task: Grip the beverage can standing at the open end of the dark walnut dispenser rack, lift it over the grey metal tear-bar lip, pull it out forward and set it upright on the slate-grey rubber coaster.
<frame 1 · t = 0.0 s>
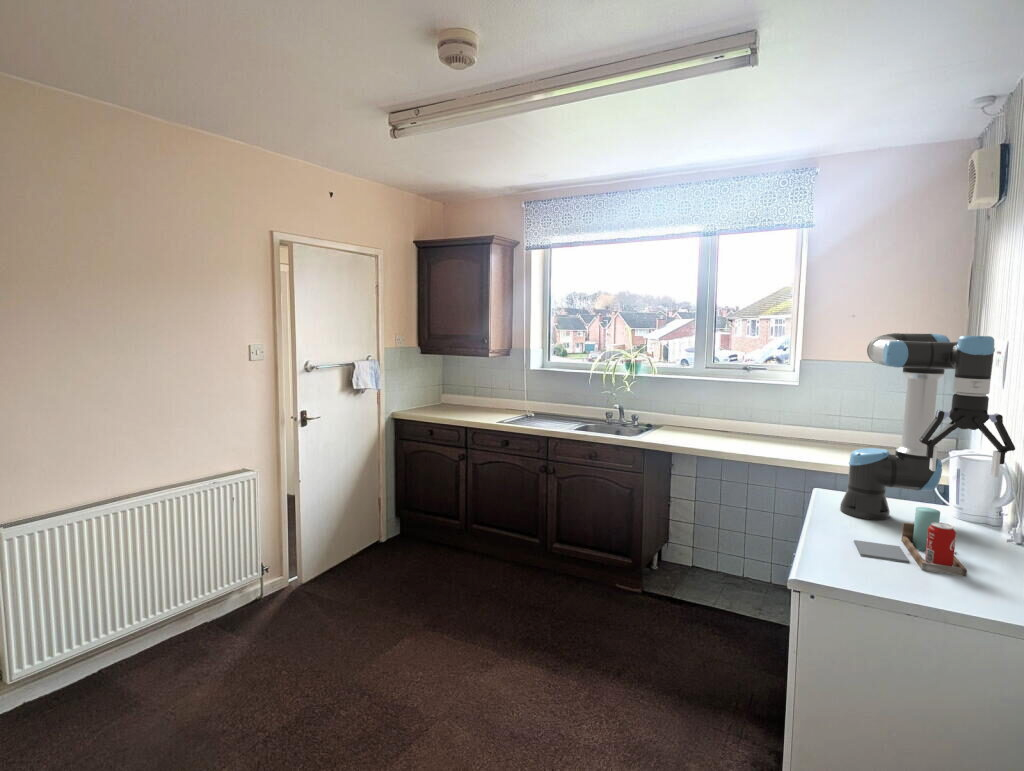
hand: (962, 473, 154), 28 cm above the countertop, fingers open, 13 cm apart
coaster: (880, 551, 171), on the countertop
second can: (924, 548, 175), resting in dispenser rack
beverage can: (938, 567, 161), resting in dispenser rack
dispenser rack: (931, 557, 168), on the countertop
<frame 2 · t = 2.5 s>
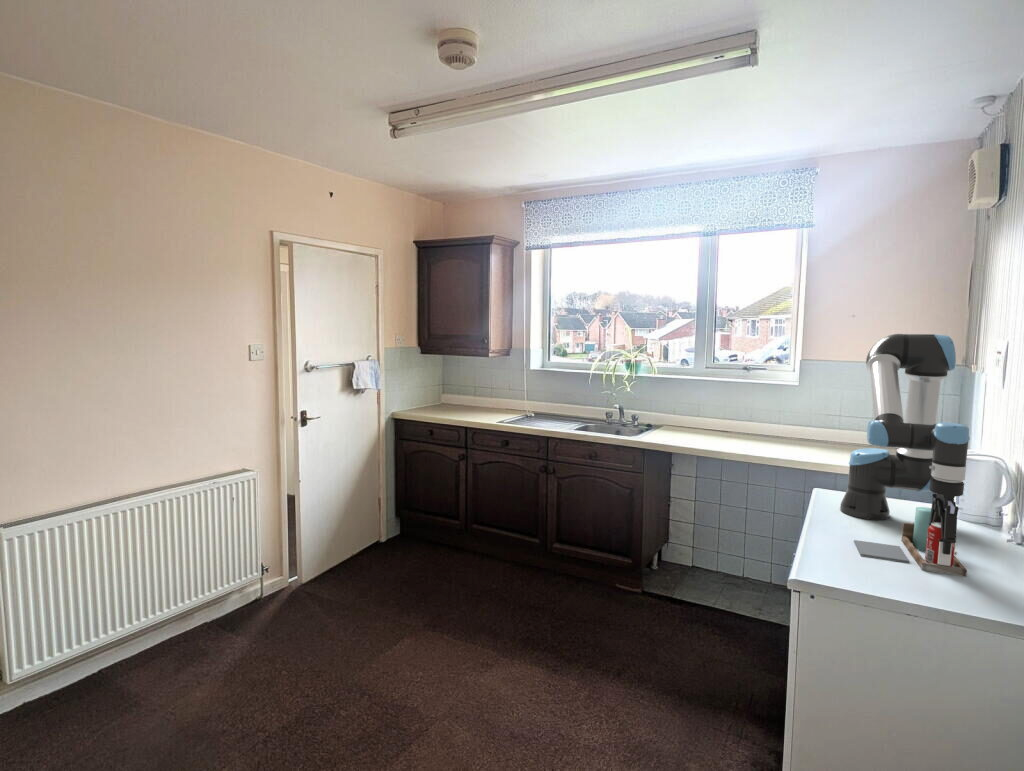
hand: (939, 559, 161), 2 cm above the countertop, fingers open, 7 cm apart
nothing on the countertop moved.
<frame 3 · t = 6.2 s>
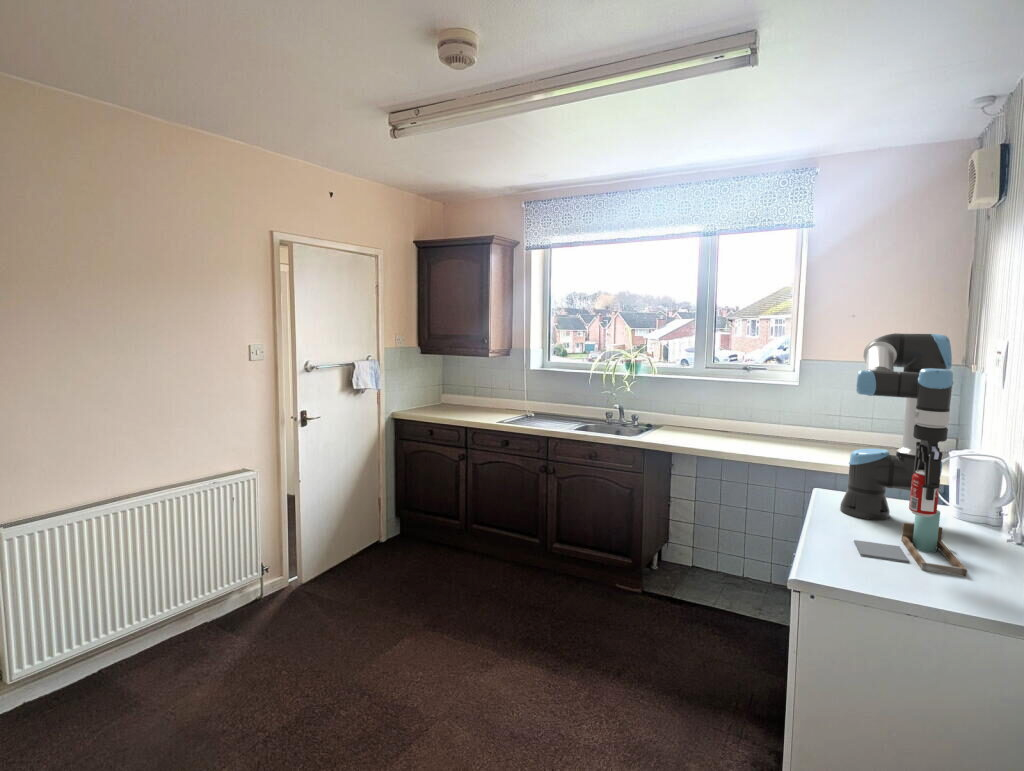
hand: (923, 506, 160), 17 cm above the countertop, fingers closed on beverage can, 6 cm apart
beverage can: (922, 514, 161), point 15 cm above the countertop, touching gripper
everything else where it was.
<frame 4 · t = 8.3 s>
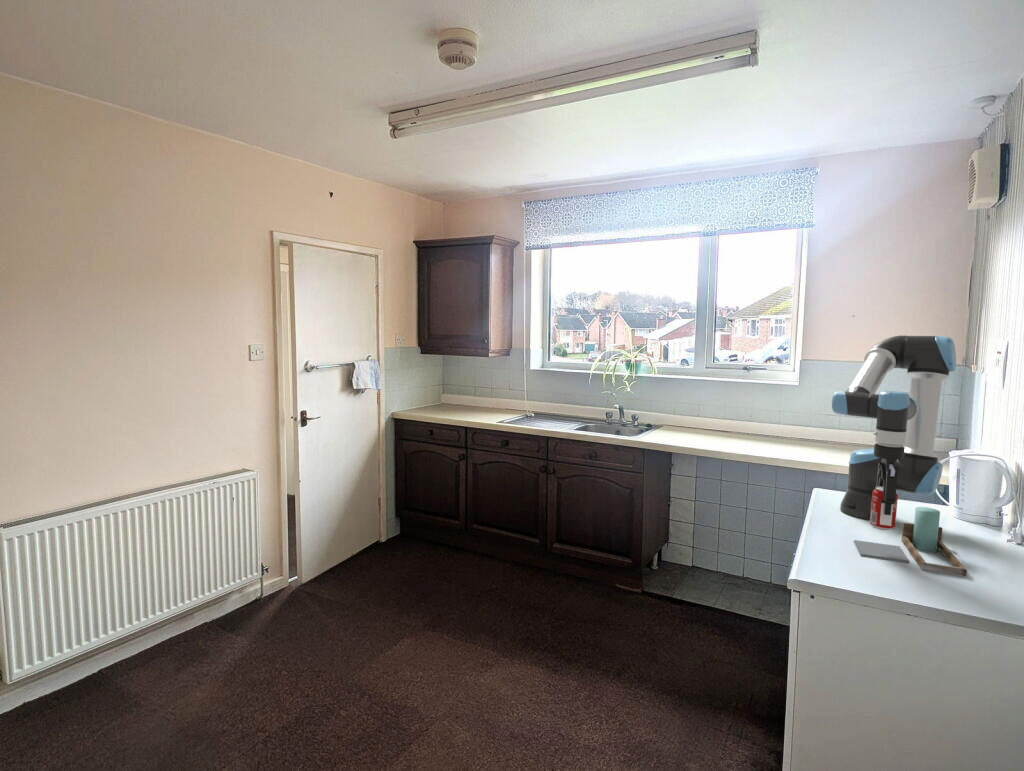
hand: (882, 521, 170), 10 cm above the countertop, fingers closed on beverage can, 6 cm apart
beverage can: (881, 528, 171), point 7 cm above the countertop, touching gripper
everything else where it was.
when the fingers open (4 cm above the countertop, at t = 9.7 s): beverage can stays where it is, resting on coaster.
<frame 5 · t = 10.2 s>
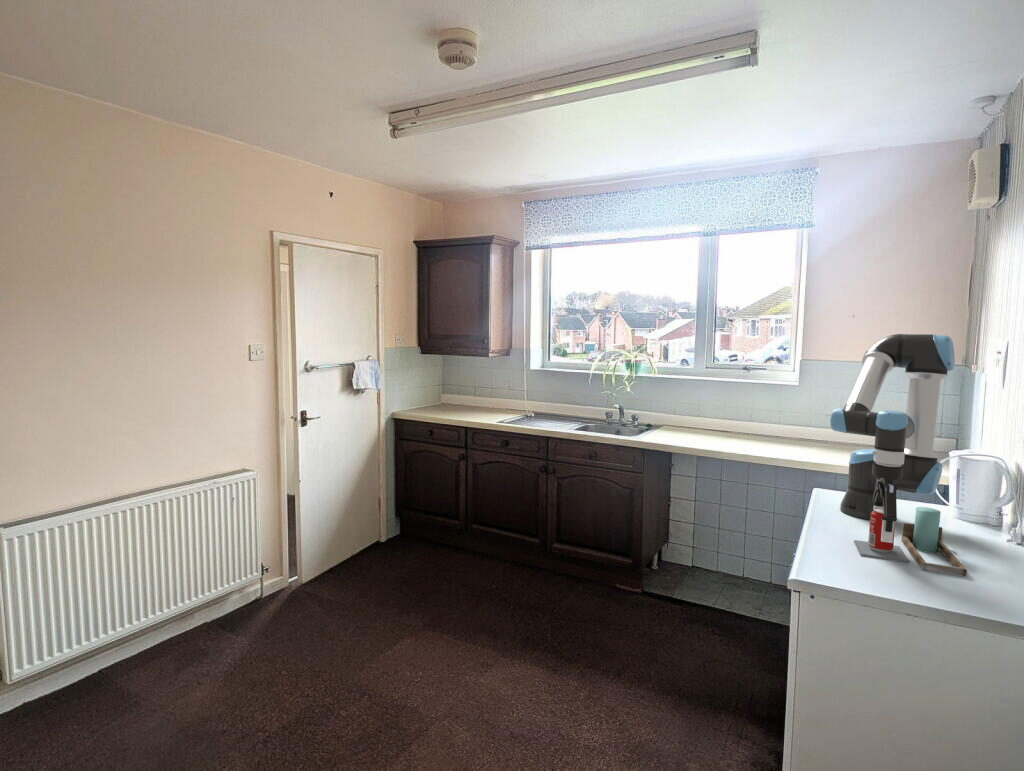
hand: (881, 534, 171), 5 cm above the countertop, fingers open, 13 cm apart
beverage can: (880, 550, 171), resting on coaster
everything else where it was.
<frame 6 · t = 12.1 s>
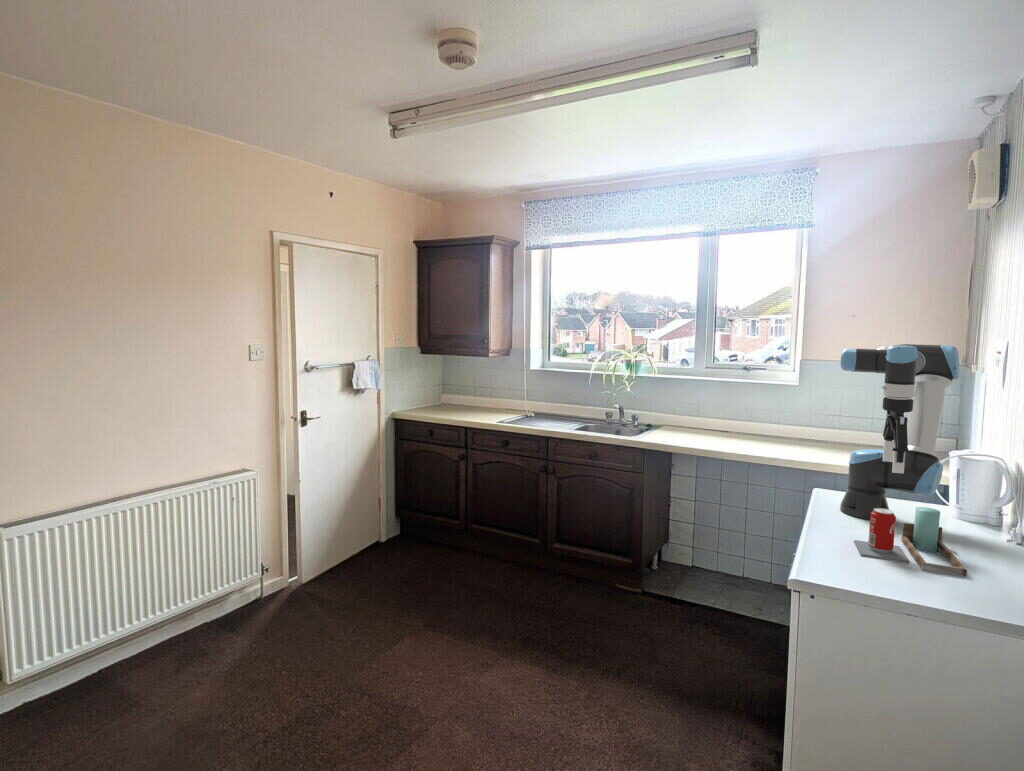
hand: (892, 467, 174), 25 cm above the countertop, fingers open, 13 cm apart
nothing on the countertop moved.
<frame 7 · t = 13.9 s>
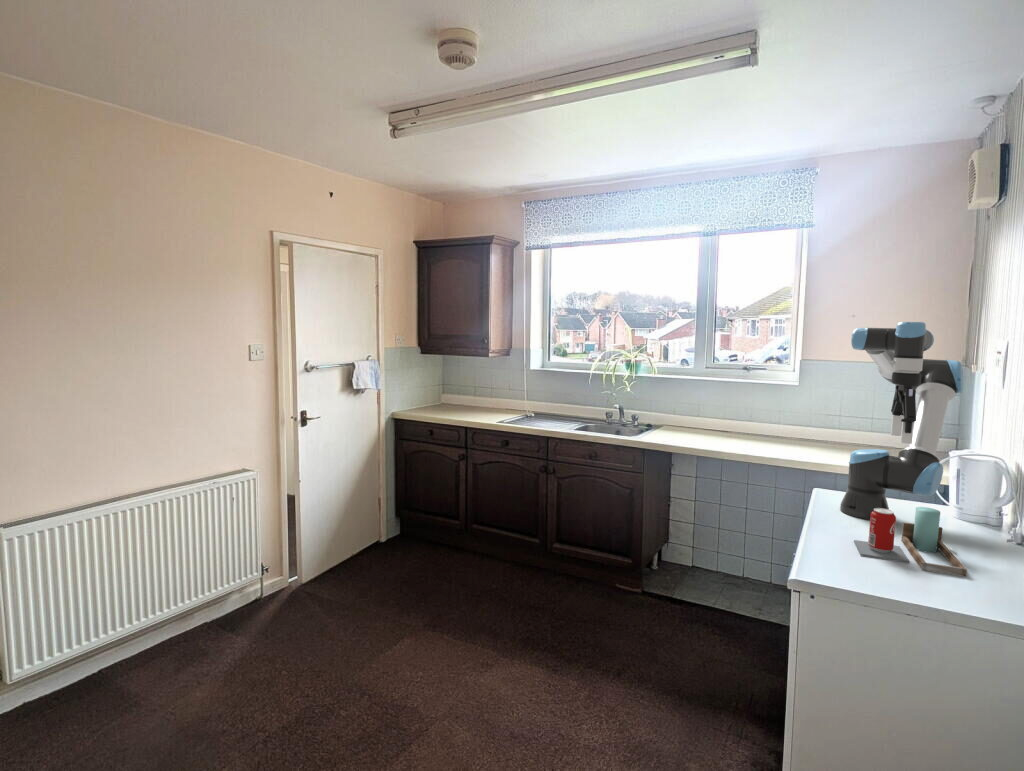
hand: (900, 439, 180), 32 cm above the countertop, fingers open, 13 cm apart
nothing on the countertop moved.
at the end: beverage can inside the target area on the coaster (0.2 cm from its centre), point 0.4 cm above the coaster's base; beverage can tilted 0°; the gripper is holding nothing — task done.
